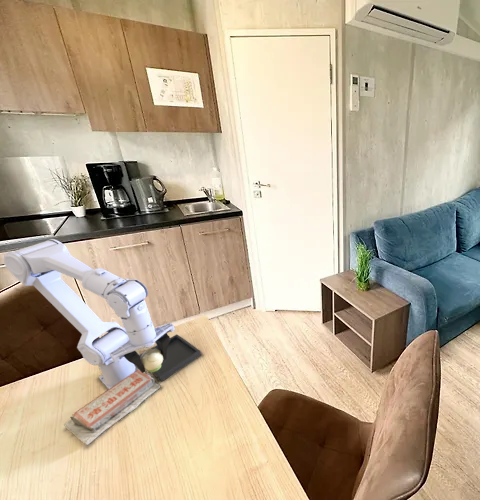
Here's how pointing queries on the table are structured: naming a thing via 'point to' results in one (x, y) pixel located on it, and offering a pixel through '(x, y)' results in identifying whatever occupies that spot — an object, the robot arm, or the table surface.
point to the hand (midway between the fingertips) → (153, 364)
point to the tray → (176, 357)
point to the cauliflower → (152, 360)
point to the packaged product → (111, 406)
